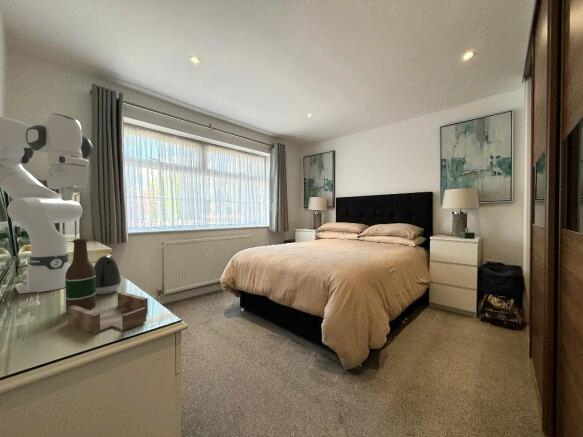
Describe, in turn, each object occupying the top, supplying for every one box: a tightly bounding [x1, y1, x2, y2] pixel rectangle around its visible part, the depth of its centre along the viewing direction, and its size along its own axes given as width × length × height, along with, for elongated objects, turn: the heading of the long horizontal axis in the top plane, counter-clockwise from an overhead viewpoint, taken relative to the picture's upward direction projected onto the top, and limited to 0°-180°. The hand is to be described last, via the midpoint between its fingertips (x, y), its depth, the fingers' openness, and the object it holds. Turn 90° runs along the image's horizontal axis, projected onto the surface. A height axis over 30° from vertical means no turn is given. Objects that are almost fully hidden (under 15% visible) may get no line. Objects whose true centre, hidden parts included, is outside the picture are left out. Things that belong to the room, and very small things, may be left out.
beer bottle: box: [64, 238, 97, 313], centre depth 81 cm, size 8×8×24 cm
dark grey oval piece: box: [93, 255, 122, 296], centre depth 98 cm, size 10×10×15 cm
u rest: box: [67, 291, 149, 336], centre depth 73 cm, size 20×15×5 cm
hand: (66, 200), depth 85 cm, fingers closed
